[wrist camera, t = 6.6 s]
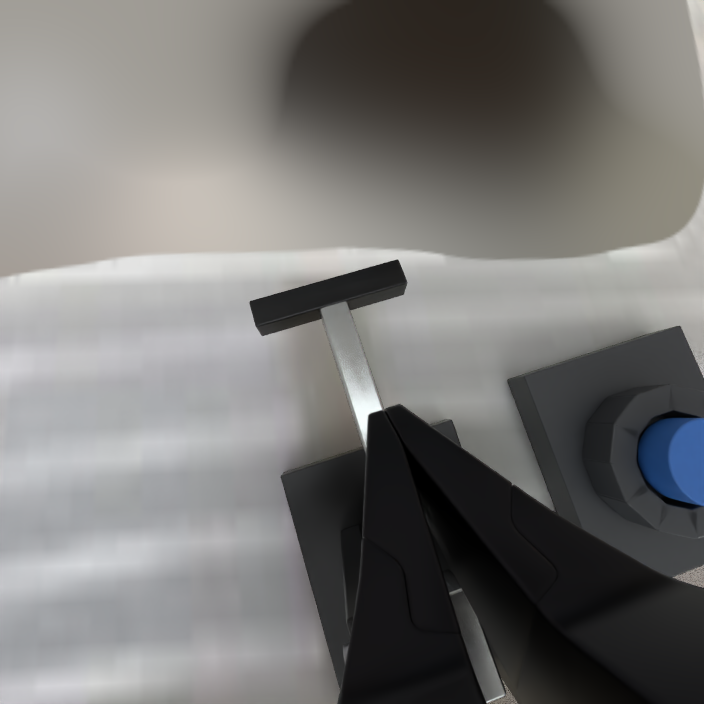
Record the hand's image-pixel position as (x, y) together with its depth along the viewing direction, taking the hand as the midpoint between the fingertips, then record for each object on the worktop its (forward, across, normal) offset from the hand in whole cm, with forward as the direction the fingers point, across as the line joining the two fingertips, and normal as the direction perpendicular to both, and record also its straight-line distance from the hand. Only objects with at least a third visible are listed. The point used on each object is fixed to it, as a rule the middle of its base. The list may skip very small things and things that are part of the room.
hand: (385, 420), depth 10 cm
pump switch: (+4, -13, +12) cm, 18 cm away
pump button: (+1, -13, +10) cm, 16 cm away
